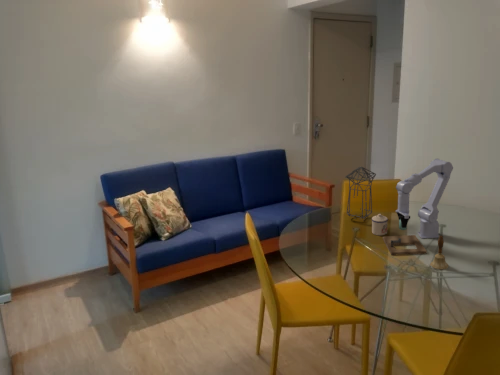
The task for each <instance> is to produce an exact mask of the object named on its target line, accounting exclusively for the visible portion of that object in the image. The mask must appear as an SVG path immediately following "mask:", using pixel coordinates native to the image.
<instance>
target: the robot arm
mask: <svg viewBox="0 0 500 375" xmlns="http://www.w3.org/2000/svg"><path fill="white" fill-rule="evenodd" d="M453 170H454V167H453V164H452V163H451V162H450V161H446V160H443V159H440V158H435V159H433V160H431V161H430V163H429V165H427V166H426V167H424V168H423V169H422V170H421V171H420V172H418V173H411V175H410V176H409V177H407V178H405V179H404V180H400V181H399V182H397V184H396V186H395V189H396V190H397V194H398V195H397V209H396V210H395V213H396V215H397V218H398V221H399V220H400V219H401V225H402V228H406V226H407V227H408V222H409V221H410V219H411V215H410V193H411V192H412V190H413V189H414V187H416V186H417V185H419V184H421V182H422V180H423V179H424V178H426V177H427V176H429V175H431V174H433V173H435V174H436V175H437V179H436V182H435V184H434V186H433V189H432V190H431V193H430V196H429V197H428V200H427V201H426V203H423V204H422V205H421V208H419V209H418V212H417V217H419V220H420V224H419V231H417V234H418V235H419V237H420V238H421V239H439V237H440V235H439V233H440V232H439V230H440V225H439V224H440V223H439V221H438V220H437V219H438V216H439V209H438V205H439V203H440V200H441V198H442V196H443V194H444V192H445V189H446V187H447V185H448V183H449V181H450V179H451V174H452V172H453Z"/></svg>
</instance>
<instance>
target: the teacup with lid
mask: <svg viewBox="0 0 500 375" xmlns="http://www.w3.org/2000/svg"><path fill="white" fill-rule="evenodd" d="M388 220H389V219H388V217H387V216H385V215H382V214H381V213H378V214H377V215H374V216H372V217H371V232H372V234H373V235H375V236H385V235H387V234H388Z"/></svg>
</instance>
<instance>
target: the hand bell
mask: <svg viewBox="0 0 500 375" xmlns="http://www.w3.org/2000/svg"><path fill="white" fill-rule="evenodd" d="M444 242H445V241H444V238H443V235H439V238H437V246H438V249H437V250H438V251H437V253H436V254H435V255H434V258H433V261H431V262H430V264H429V265H430V267H431V266H432V267H431V268H433V269H434V270H435V269H436V270H447V269H448V268H449V264H448V263H447V262H446V261H447V260H446V256H445V255H444V254H443V246H444Z"/></svg>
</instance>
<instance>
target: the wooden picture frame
mask: <svg viewBox="0 0 500 375" xmlns="http://www.w3.org/2000/svg"><path fill="white" fill-rule="evenodd" d="M398 238H401V243H394V244H393V247H391V240H398ZM382 240H383V242H384V244H385V247H386V248H387V250H388V252H389V253H390V255H391V256H397V255H396V254H406V255H427V250H426V248H425V247H424V245H423V244H422V242H421V241H420V239H419V238H418V237H417V236H416V234H412V235H411V234H410V235H409V234H408V235H407V234H405V235H388V236H387V235H386V236H385V235H383V236H382ZM411 245H413V246H415V248H404V249H396V248H395V246H411ZM424 253H426V254H424Z"/></svg>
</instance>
